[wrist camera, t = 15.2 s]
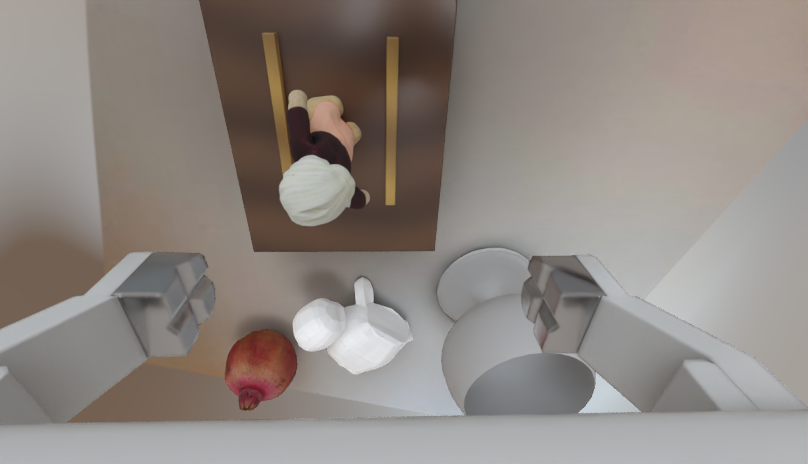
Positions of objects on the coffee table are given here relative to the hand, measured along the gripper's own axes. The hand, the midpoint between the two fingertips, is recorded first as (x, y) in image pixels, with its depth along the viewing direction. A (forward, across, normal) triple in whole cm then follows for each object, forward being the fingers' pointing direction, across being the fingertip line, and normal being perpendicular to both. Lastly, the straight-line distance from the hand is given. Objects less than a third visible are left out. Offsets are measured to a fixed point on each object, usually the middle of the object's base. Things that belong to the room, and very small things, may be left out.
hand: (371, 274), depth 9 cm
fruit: (+26, +14, +31) cm, 43 cm away
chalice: (+26, -13, +23) cm, 37 cm away
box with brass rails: (+26, +3, +2) cm, 27 cm away
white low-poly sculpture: (+26, +3, +26) cm, 37 cm away
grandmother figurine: (+20, +3, +2) cm, 20 cm away
